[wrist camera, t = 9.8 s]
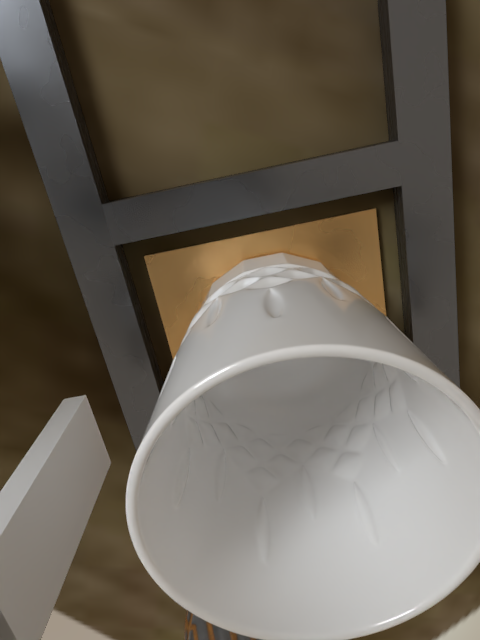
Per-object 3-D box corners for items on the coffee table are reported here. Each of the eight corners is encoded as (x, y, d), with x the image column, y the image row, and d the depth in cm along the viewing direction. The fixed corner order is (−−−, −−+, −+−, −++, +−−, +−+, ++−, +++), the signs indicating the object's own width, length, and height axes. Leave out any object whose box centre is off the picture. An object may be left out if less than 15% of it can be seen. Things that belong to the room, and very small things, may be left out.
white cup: (257, 443, 21) (272, 687, 11) (141, 315, 18) (43, 490, 9) (408, 348, 19) (569, 544, 10) (301, 193, 17) (380, 257, 7)
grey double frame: (-74, -198, 13) (-102, -230, 12) (417, -337, 12) (435, -387, 11) (157, 486, 22) (153, 505, 21) (452, 436, 21) (464, 452, 20)
